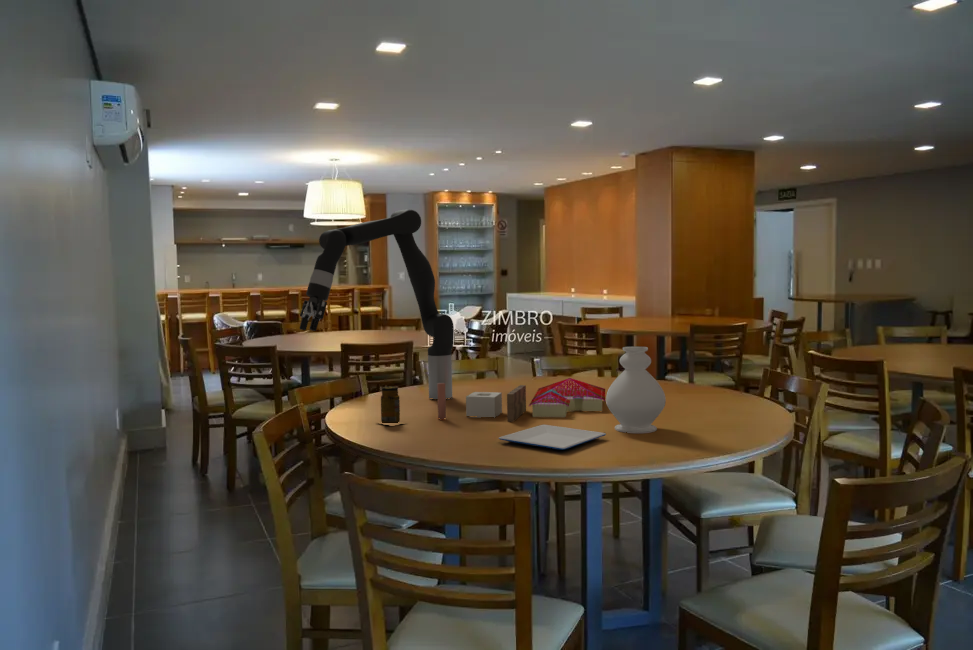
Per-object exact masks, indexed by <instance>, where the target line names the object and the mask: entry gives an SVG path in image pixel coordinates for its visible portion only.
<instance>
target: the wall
mask: <svg viewBox="0 0 973 650" xmlns="http://www.w3.org/2000/svg"><path fill="white" fill-rule="evenodd" d="M526 388H527V384H524V385H523V384H520V385H518V386H516V387H515V388H514V389H512V390H510V391H509V392H508V393H506V406H507V407H506V409H507V411H506V415H507V417H506V419H507V422H510V423H511V422H514V421H516V420H517V419H518V418H519V417H520V416H521V415H523V414H524V413H525V412H527V389H526Z"/></svg>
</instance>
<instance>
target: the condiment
mask: <svg viewBox="0 0 973 650" xmlns="http://www.w3.org/2000/svg"><path fill="white" fill-rule="evenodd" d="M400 401H401V400H400V395H399V388H398V386H393V385H391V386H382V387H381V396H380V418H381V419H380V421H381V422H382V423H398V422H401V421H400V419H401V418H400V417H401V413H400V412H401V408H400V407H401V406H400Z"/></svg>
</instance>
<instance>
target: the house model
mask: <svg viewBox="0 0 973 650" xmlns="http://www.w3.org/2000/svg"><path fill="white" fill-rule="evenodd" d="M603 401H604V402H606V388H604V387H600V386H597V385H594V384H590V383H587V382H584V381H581V380H578V379H575V378H571V377H569V378H566V379H563V380H560V381H556V382H554V383H551V384H548V385H545V386H542V387H539V388H538V389H537V390H536V392H535V394H534V396H533V398H532V399H531V401H530V402H529V404H528V407H531V406H532V418H566V417H567V413H568V412H575V411H581V412H582V411H602V412H603Z"/></svg>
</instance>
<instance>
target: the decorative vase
mask: <svg viewBox="0 0 973 650" xmlns="http://www.w3.org/2000/svg"><path fill="white" fill-rule="evenodd" d="M622 351H623V352H625V353H624V354H622V355H621V357H620V358H619V364H620V366H622V368H623V369H624V370H623V371H622V372H621V373H620V374H619V375H618V376H617V377H616V378H615V379H614V380H613V381H612V383H611V384H610V386H609V388H608V389H607V393H606V394H605V402H606V406H607V408H608V409H609V411H610V413H611V414H612V415H613V417H614V418H615V419H616V420H617V421H618V422H619V424H616V425H615V426H614V430H615V431H617V432H621V433H626V432H627V433H626V434H650V433H654V432H656V431H657V430H658V429H657V426H656V425H653V422H654V421H655V420H656V419H657V418H658V417H659V415H660V414H661V413H662V411H663V410H664V408H665V406H666V399H667V398H666V395H665V391H664V389H663V388H662V386H661V385H660V384H659V383H660V382H659V381H657V379H655V377H654V376H652V374H651V373H650V372H649V371H648V370H647V369H648V368H649V367H650V366H651V363H652V358H651V357H650V355H648V354H647V353H646V352H648V351H649V348H648V347H647V346H623V347H622Z"/></svg>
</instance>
